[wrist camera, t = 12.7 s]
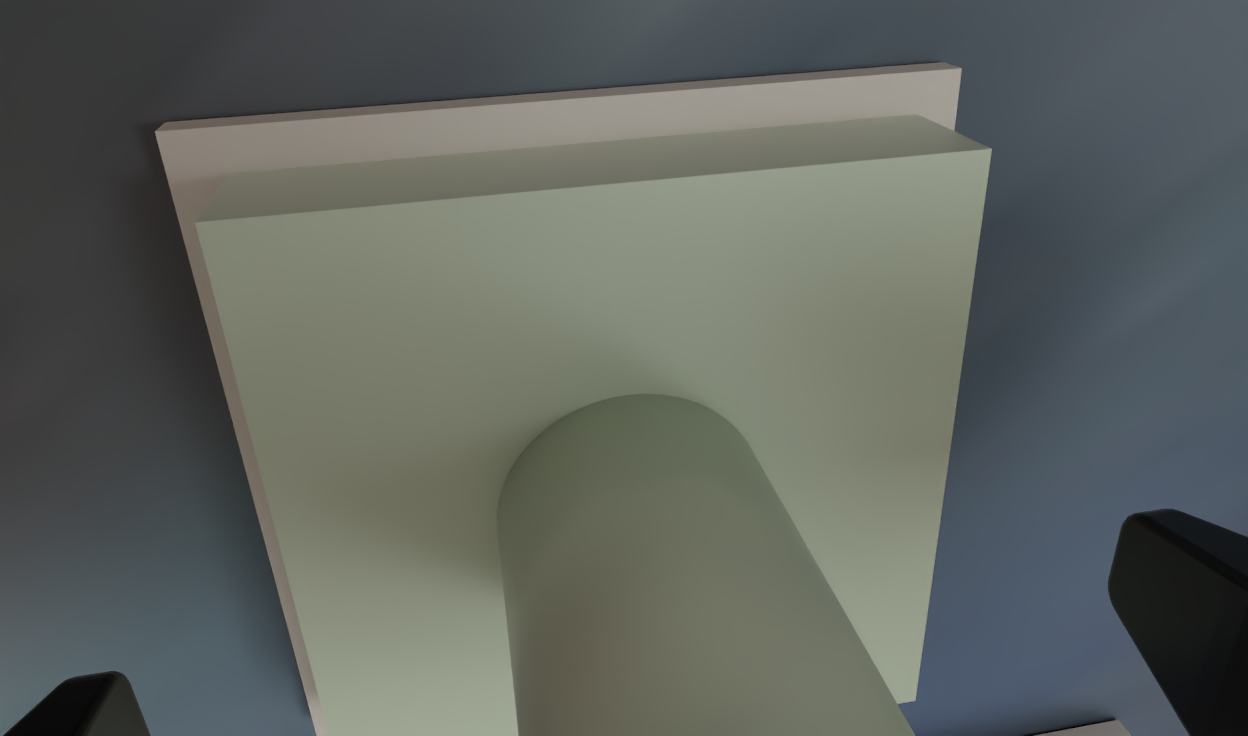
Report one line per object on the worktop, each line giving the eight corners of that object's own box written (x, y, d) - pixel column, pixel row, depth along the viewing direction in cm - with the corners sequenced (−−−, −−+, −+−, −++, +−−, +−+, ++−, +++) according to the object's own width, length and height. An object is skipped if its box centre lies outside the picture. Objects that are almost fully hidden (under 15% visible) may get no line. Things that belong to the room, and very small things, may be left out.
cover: (866, 620, 13) (1117, 1040, 8) (355, 704, 12) (306, 1236, 7) (917, 114, 10) (1373, 326, 5) (228, 173, 9) (-4, 503, 4)
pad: (943, 61, 10) (962, 68, 10) (881, 625, 14) (892, 645, 14) (165, 122, 9) (154, 131, 9) (321, 719, 13) (318, 742, 12)
